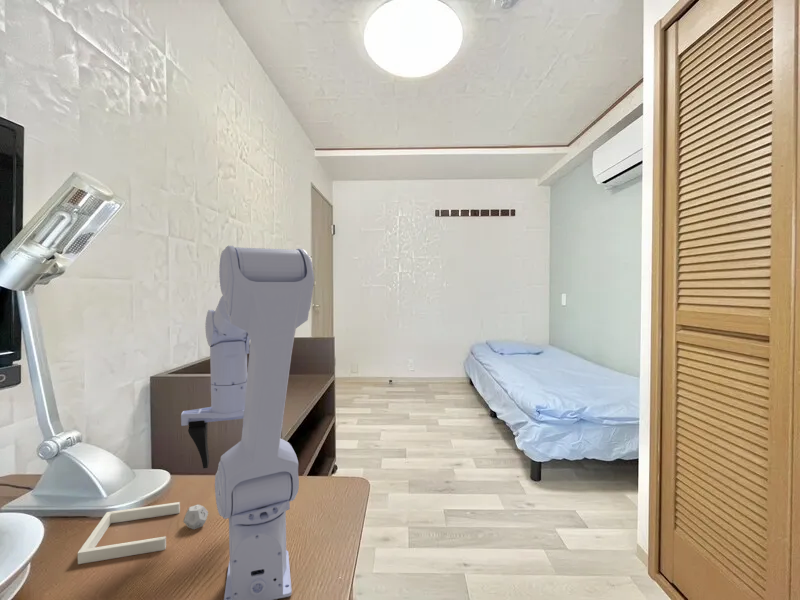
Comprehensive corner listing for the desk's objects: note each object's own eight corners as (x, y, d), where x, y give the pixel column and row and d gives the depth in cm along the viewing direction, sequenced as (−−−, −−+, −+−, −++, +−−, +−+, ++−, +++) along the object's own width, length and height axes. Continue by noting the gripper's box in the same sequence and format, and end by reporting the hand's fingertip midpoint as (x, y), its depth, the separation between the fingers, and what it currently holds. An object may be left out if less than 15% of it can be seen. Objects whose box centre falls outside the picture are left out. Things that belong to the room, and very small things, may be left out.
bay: (165, 549, 64) (164, 539, 64) (77, 564, 61) (77, 553, 61) (180, 511, 76) (179, 501, 76) (107, 521, 72) (106, 512, 72)
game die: (211, 519, 73) (210, 501, 73) (203, 531, 69) (203, 512, 69) (188, 520, 73) (188, 503, 73) (180, 533, 69) (180, 514, 69)
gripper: (273, 374, 79) (274, 448, 79) (184, 380, 74) (186, 459, 74) (275, 382, 72) (276, 463, 72) (178, 389, 67) (180, 476, 68)
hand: (230, 462), depth 73 cm, fingers open, 7 cm apart
